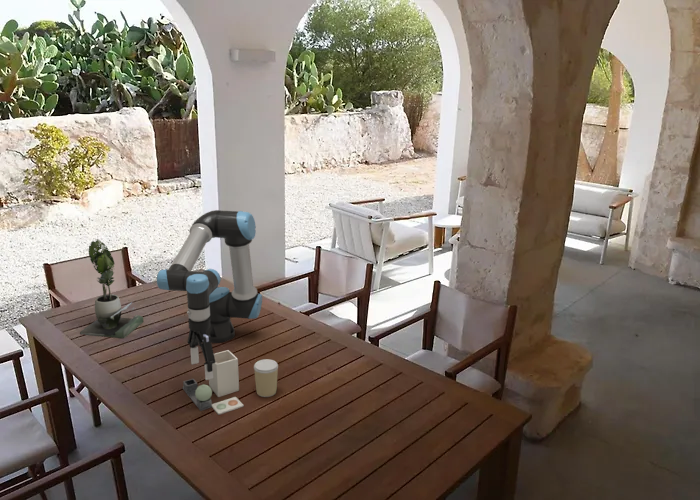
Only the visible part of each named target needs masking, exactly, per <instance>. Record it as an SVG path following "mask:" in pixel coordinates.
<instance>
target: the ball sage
mask: <svg viewBox="0 0 700 500" xmlns="http://www.w3.org/2000/svg"><path fill="white" fill-rule="evenodd" d="M195 395H196V398H197V399H198V400H200V401H206V400H208V399H209V398H211V397H212V396H213V391H212V390H211V388H210V387H209V385H207V384H201V385H198V388H197V389H196V392H195Z"/></svg>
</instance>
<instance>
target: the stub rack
mask: <svg viewBox="0 0 700 500" xmlns="http://www.w3.org/2000/svg"><path fill="white" fill-rule="evenodd" d="M182 385H183V386H182V390H183V391H184V392H185V394H186V395H187V396H188V397H189V398H190V400H191V402H192V403H194V405H195V406H196V407H197V408H198V410H199V411H200V412H202V411H205V410H208V409H211V408H212V404H213V402H212V400H213V399H211V397H210V398H209V399H208V400H206V401H200V400H198V399H197V398H196V395H195V392H196V389H197V388H198V387H199V384H198V382H197V381H196V380H195V378H191V379H188V380H183V381H182Z"/></svg>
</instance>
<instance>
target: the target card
mask: <svg viewBox="0 0 700 500" xmlns="http://www.w3.org/2000/svg"><path fill="white" fill-rule="evenodd" d="M243 407H245V406H244V404H243V403H242V402H241V401H240V400H239V398H238V397H236V396H232V397H231V398H228V399H227V398H226V399H224V400H221V401H218V402H214V403H212V407H211V408H212V409H213V410H214V412H215V413H216V414H217V415H223V414H226V413H228V412H231V411H234V410H237V409H240V408H243Z"/></svg>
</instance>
